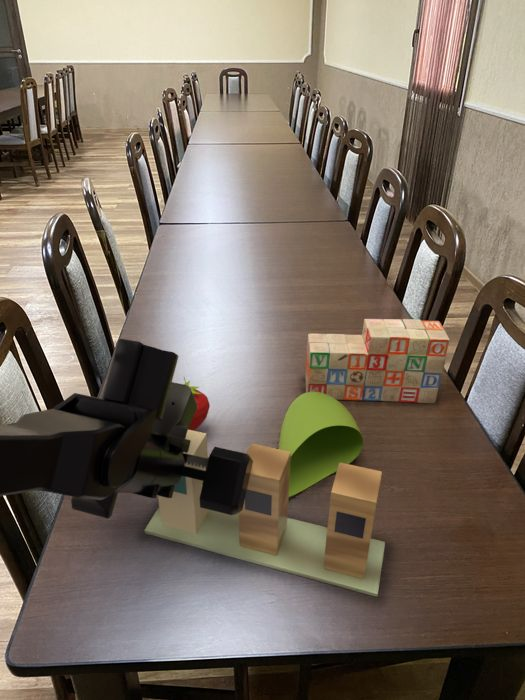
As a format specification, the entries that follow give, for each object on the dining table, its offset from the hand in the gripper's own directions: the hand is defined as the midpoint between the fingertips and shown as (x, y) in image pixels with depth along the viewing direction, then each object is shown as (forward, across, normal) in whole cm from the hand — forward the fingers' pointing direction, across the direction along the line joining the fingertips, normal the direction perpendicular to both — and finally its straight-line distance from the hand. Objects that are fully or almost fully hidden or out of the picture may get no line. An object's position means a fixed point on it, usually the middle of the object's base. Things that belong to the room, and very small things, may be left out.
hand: (188, 469), depth 65 cm
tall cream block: (+4, 0, +6) cm, 7 cm away
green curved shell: (+16, -12, -6) cm, 21 cm away
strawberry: (+15, +7, -4) cm, 17 cm away
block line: (+4, -10, +6) cm, 12 cm away
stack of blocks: (+29, -18, -18) cm, 39 cm away
